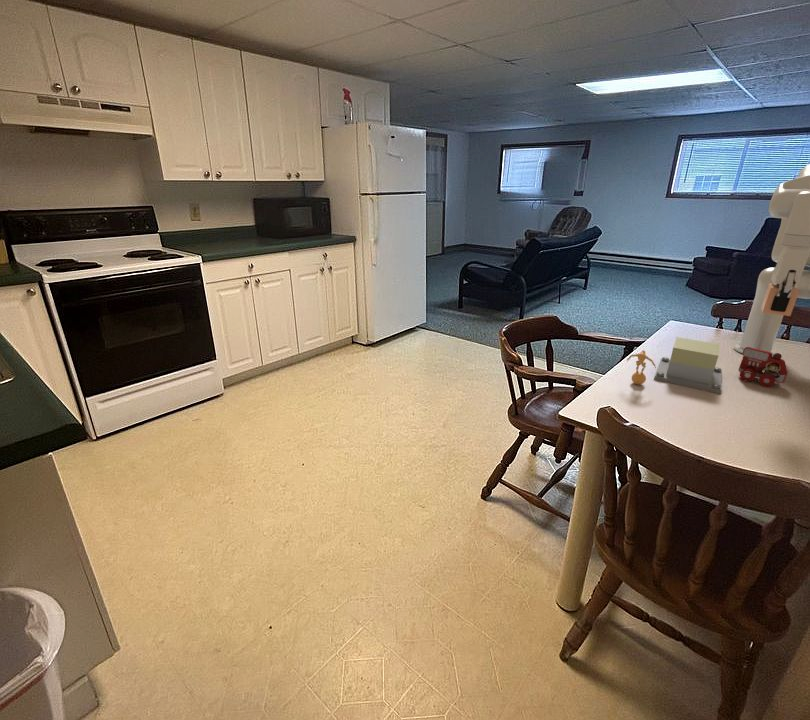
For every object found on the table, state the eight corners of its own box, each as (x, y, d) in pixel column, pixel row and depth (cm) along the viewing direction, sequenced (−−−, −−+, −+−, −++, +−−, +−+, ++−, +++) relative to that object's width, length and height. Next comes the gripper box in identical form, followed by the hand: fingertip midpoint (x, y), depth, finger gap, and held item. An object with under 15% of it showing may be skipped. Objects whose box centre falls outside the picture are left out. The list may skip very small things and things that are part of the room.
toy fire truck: (779, 390, 135) (791, 359, 131) (732, 378, 144) (741, 348, 140) (784, 384, 140) (795, 354, 136) (738, 372, 148) (747, 343, 144)
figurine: (653, 385, 138) (662, 350, 133) (647, 392, 134) (656, 355, 129) (625, 378, 143) (633, 343, 138) (619, 384, 139) (627, 348, 134)
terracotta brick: (761, 307, 126) (769, 283, 123) (787, 310, 123) (796, 286, 120) (762, 312, 121) (770, 287, 118) (790, 316, 118) (799, 290, 115)
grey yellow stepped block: (660, 361, 156) (667, 332, 152) (720, 373, 147) (730, 343, 143) (653, 379, 142) (661, 348, 138) (720, 393, 133) (730, 361, 129)
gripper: (778, 237, 123) (757, 299, 130) (784, 244, 110) (761, 313, 117) (813, 239, 119) (790, 303, 126) (824, 246, 106) (797, 318, 113)
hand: (776, 307), depth 121 cm, fingers closed on terracotta brick, 6 cm apart
